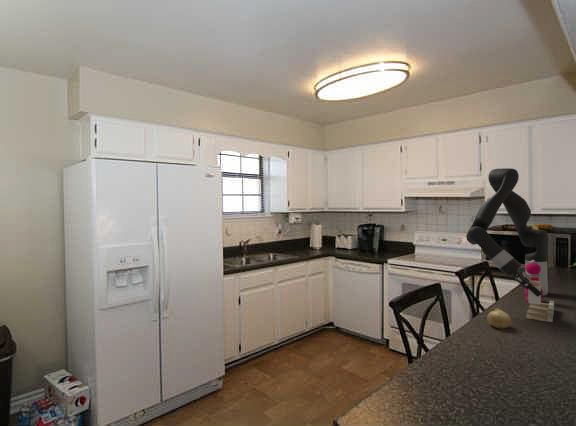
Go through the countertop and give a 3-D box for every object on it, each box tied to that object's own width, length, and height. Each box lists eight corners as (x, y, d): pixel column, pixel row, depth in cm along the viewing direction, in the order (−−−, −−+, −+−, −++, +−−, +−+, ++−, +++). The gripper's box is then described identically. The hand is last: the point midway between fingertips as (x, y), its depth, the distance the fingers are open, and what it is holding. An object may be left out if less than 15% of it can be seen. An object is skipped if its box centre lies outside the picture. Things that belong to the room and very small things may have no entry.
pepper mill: (537, 299, 167) (536, 258, 166) (546, 303, 160) (546, 261, 159) (521, 299, 168) (520, 259, 167) (530, 303, 161) (529, 261, 160)
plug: (529, 300, 146) (528, 280, 146) (540, 302, 144) (540, 281, 144) (528, 303, 143) (528, 281, 143) (540, 304, 141) (539, 283, 141)
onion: (513, 326, 134) (512, 308, 134) (509, 332, 128) (508, 313, 128) (489, 321, 139) (489, 304, 139) (485, 327, 133) (484, 309, 133)
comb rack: (530, 306, 156) (530, 298, 156) (554, 310, 150) (553, 301, 150) (526, 318, 142) (526, 308, 141) (552, 322, 136) (552, 312, 136)
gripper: (510, 259, 142) (547, 292, 135) (514, 254, 153) (549, 285, 146) (496, 270, 146) (531, 303, 139) (501, 265, 157) (533, 295, 149)
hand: (540, 293), depth 142 cm, fingers closed on plug, 4 cm apart
